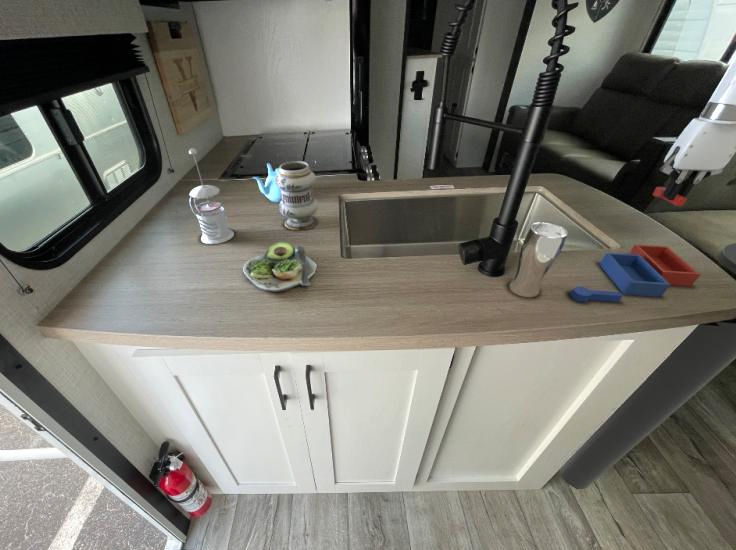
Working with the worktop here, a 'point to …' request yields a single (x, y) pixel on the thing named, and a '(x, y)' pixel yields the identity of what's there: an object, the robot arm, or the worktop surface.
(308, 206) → the apothecary jar
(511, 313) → the worktop surface
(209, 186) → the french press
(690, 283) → the red bin
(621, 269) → the blue bin
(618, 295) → the blue spoon
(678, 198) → the red spoon
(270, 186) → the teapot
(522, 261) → the beer glass
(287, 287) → the salad plate
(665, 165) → the robot arm
